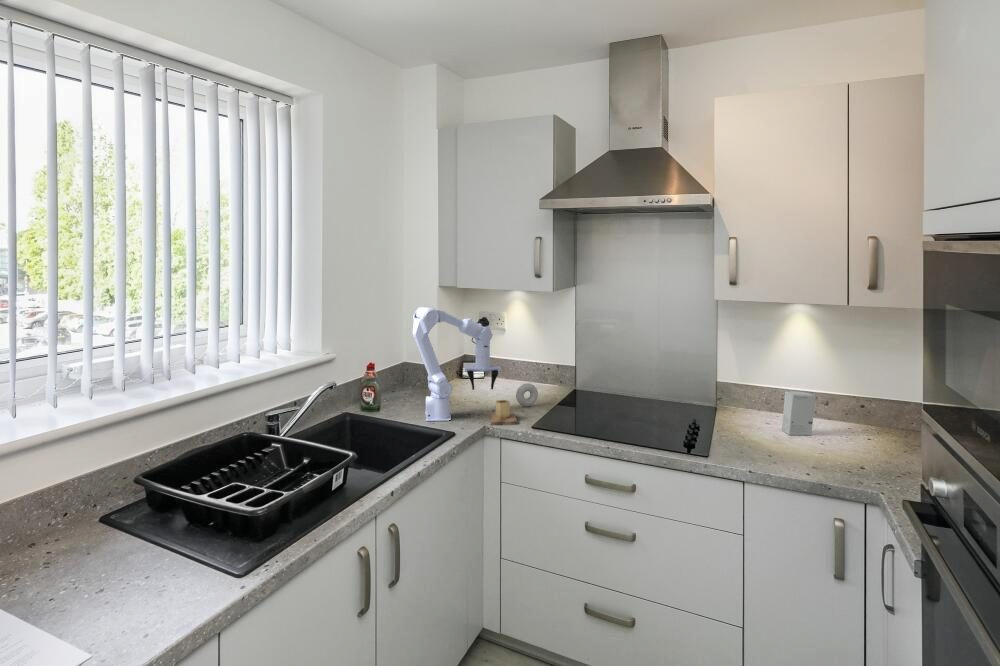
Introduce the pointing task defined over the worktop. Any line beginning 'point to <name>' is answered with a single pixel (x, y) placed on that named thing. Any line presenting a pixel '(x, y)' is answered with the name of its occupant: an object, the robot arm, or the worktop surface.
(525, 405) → the donut
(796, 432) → the skincare box
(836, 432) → the worktop surface
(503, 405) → the hub
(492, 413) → the shaft stand
